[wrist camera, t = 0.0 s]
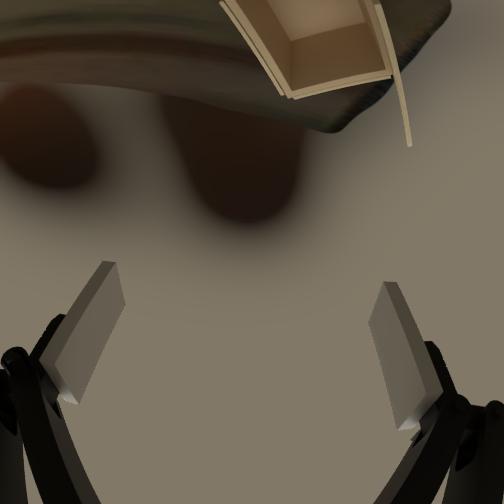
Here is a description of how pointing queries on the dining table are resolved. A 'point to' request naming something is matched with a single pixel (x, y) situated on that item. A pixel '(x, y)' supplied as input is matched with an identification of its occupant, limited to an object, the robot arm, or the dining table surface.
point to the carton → (313, 42)
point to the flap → (393, 66)
